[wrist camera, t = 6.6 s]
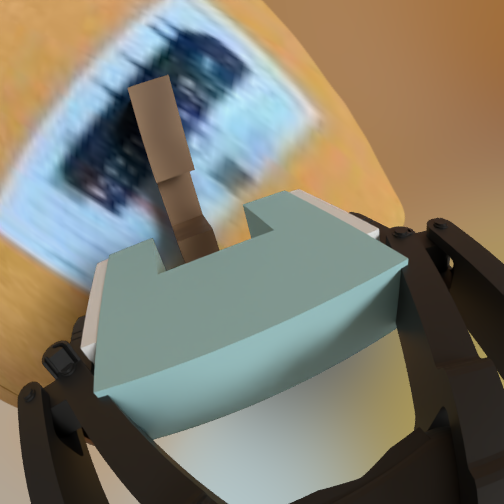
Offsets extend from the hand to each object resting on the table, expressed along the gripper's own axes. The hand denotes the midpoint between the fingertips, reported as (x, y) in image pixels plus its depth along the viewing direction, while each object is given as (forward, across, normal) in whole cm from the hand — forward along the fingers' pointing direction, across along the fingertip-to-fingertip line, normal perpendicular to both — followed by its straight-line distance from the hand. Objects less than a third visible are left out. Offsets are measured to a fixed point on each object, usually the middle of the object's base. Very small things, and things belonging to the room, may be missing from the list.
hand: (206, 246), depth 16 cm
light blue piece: (0, 0, 0) cm, 0 cm away
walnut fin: (+16, 0, 0) cm, 16 cm away
